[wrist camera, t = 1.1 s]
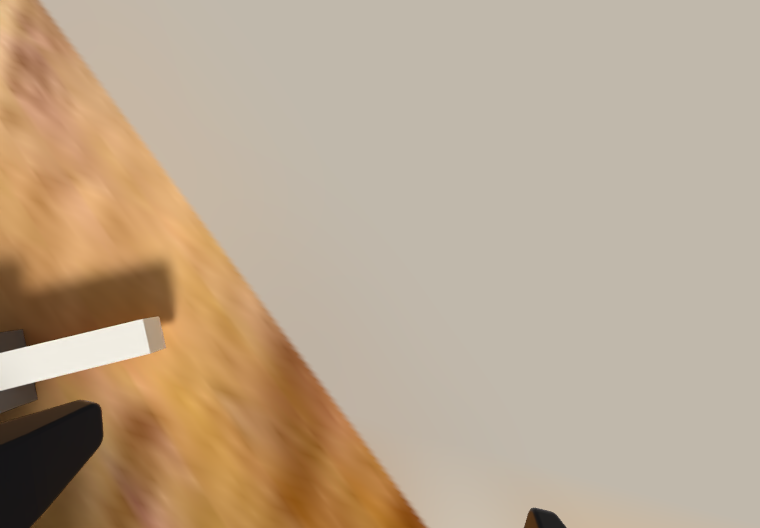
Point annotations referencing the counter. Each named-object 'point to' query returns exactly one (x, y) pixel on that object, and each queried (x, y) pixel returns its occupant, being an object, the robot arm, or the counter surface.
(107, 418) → the counter surface
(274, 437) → the counter surface
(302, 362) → the counter surface
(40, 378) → the plug
